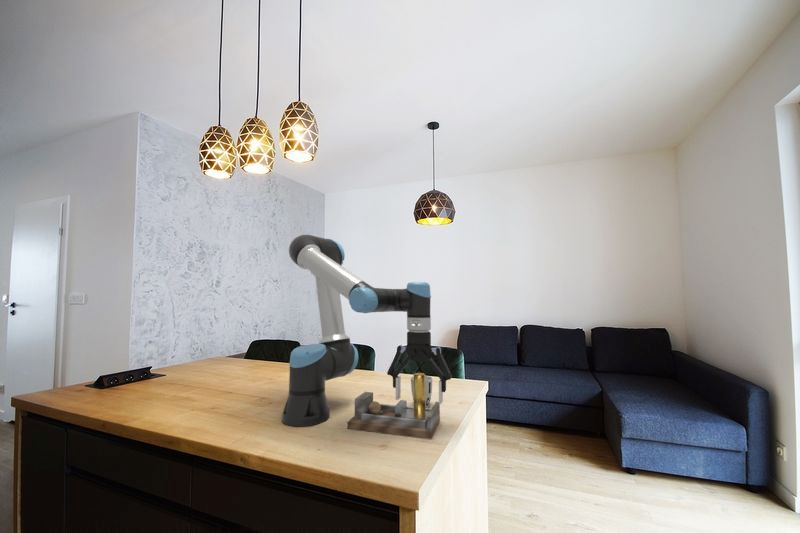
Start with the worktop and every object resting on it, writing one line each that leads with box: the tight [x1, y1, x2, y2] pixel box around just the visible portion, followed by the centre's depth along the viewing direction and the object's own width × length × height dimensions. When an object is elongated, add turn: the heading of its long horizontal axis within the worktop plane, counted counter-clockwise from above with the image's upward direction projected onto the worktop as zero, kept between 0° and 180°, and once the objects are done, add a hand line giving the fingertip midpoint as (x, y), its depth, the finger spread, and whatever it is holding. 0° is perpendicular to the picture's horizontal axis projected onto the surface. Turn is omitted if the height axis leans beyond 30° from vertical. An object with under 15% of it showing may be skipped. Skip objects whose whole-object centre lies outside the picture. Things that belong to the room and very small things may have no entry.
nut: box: [369, 400, 381, 415], centre depth 101 cm, size 4×4×4 cm
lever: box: [395, 372, 430, 426], centre depth 98 cm, size 10×8×14 cm
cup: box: [410, 375, 433, 409], centre depth 117 cm, size 8×8×10 cm
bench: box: [346, 391, 441, 440], centre depth 99 cm, size 26×14×8 cm, turn 73°
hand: (419, 400), depth 97 cm, fingers open, 13 cm apart
